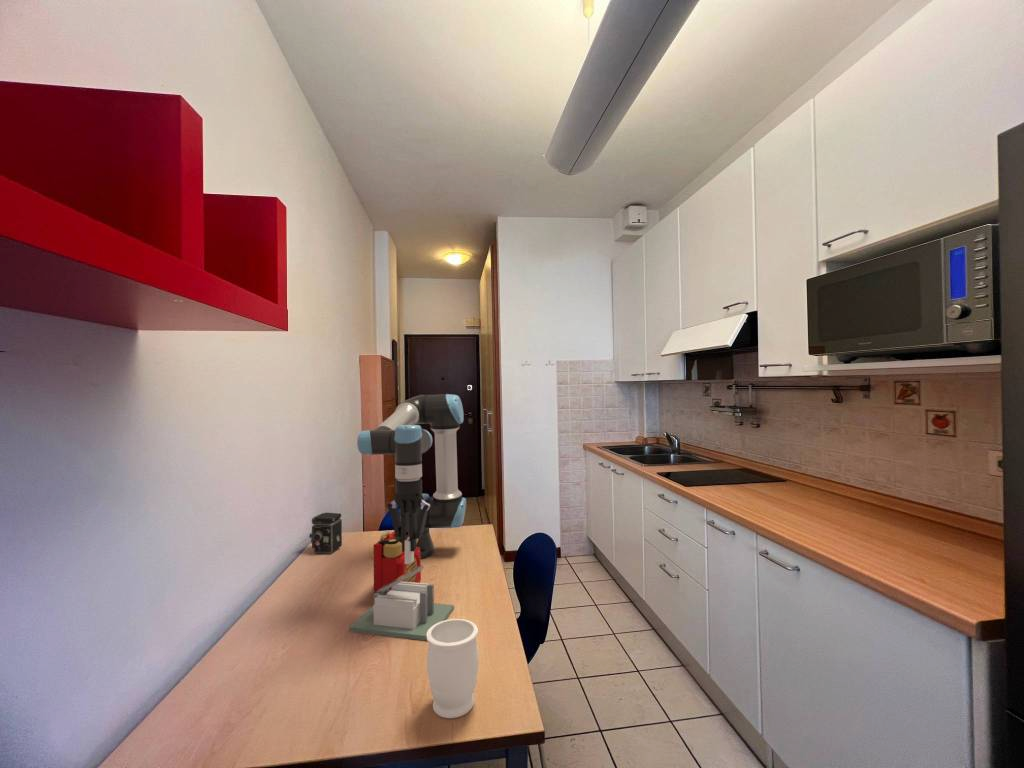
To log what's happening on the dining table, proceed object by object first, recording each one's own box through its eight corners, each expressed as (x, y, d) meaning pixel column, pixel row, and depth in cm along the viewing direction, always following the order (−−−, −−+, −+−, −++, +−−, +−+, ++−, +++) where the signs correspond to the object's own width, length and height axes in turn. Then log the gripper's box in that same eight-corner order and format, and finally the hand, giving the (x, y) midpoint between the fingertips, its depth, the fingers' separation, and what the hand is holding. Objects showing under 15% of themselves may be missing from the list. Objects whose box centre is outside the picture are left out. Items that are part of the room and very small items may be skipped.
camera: (320, 546, 185) (320, 511, 185) (343, 547, 184) (343, 511, 184) (305, 555, 175) (305, 518, 175) (330, 556, 173) (329, 518, 174)
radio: (402, 604, 131) (401, 539, 132) (372, 602, 134) (371, 537, 134) (422, 582, 147) (422, 523, 148) (395, 580, 149) (395, 522, 150)
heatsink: (348, 631, 117) (348, 596, 117) (381, 602, 133) (381, 571, 134) (430, 641, 111) (430, 604, 112) (454, 609, 128) (453, 577, 128)
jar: (434, 730, 82) (433, 650, 82) (422, 696, 91) (421, 624, 91) (486, 713, 86) (485, 637, 86) (470, 682, 95) (469, 613, 96)
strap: (377, 598, 123) (374, 591, 123) (383, 593, 126) (380, 586, 126) (420, 574, 120) (416, 567, 120) (425, 570, 123) (422, 563, 123)
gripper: (381, 480, 121) (381, 565, 120) (424, 482, 118) (425, 569, 117) (394, 476, 128) (394, 556, 127) (435, 477, 125) (435, 559, 124)
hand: (409, 562), depth 122 cm, fingers closed
